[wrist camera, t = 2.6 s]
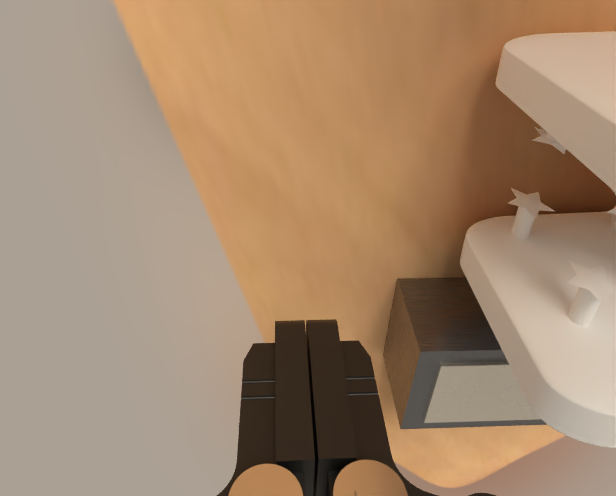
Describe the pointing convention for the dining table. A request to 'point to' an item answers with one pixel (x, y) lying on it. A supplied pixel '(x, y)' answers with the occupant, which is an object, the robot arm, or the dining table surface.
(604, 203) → the dining table surface
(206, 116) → the dining table surface
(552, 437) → the dining table surface
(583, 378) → the cable organizer
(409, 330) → the block
